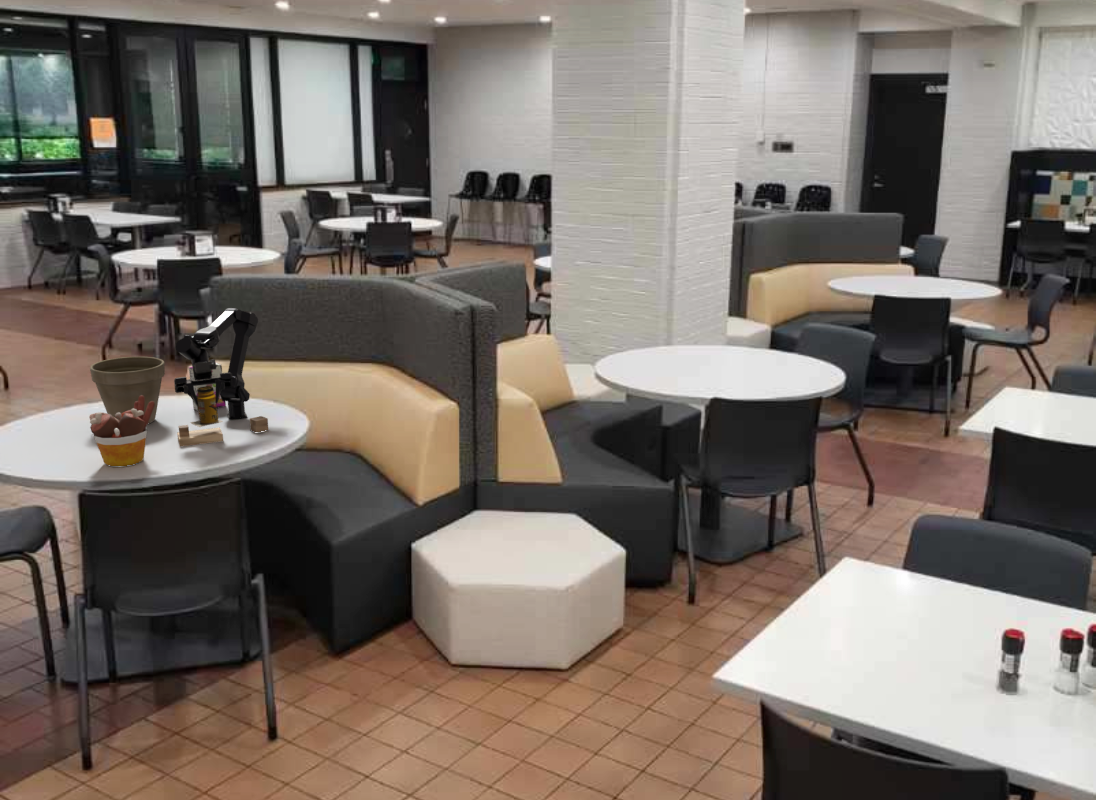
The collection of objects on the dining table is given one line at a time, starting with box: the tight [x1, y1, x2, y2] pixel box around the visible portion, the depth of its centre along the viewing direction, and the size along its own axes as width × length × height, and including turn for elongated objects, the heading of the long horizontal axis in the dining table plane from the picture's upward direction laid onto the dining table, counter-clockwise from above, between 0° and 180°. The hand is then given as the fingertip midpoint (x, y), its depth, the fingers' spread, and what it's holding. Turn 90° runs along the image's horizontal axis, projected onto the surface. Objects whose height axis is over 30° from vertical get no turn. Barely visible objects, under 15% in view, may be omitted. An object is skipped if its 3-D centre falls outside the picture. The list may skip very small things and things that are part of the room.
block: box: [249, 415, 269, 433], centre depth 376 cm, size 4×4×4 cm
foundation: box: [177, 424, 224, 447], centre depth 366 cm, size 9×14×6 cm, turn 112°
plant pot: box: [89, 356, 166, 424], centre depth 387 cm, size 25×25×22 cm
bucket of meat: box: [89, 395, 155, 467], centre depth 342 cm, size 20×16×20 cm
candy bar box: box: [188, 362, 227, 412], centre depth 406 cm, size 11×5×16 cm, turn 130°
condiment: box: [189, 386, 224, 428], centre depth 363 cm, size 7×8×12 cm
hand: (207, 403), depth 363 cm, fingers closed on condiment, 6 cm apart
